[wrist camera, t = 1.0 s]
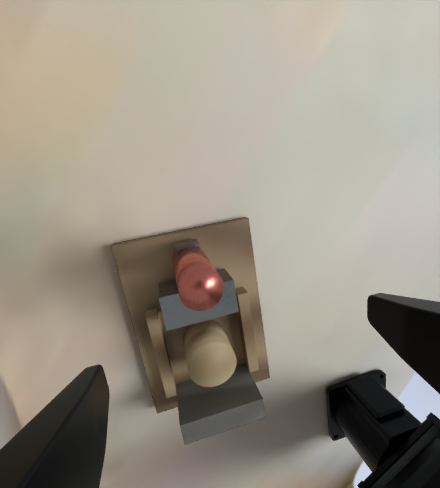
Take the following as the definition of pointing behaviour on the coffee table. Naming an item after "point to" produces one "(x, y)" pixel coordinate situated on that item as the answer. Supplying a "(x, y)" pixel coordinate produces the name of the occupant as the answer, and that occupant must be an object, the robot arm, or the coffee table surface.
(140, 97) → the coffee table surface
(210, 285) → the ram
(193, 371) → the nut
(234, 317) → the beige mounting plate
